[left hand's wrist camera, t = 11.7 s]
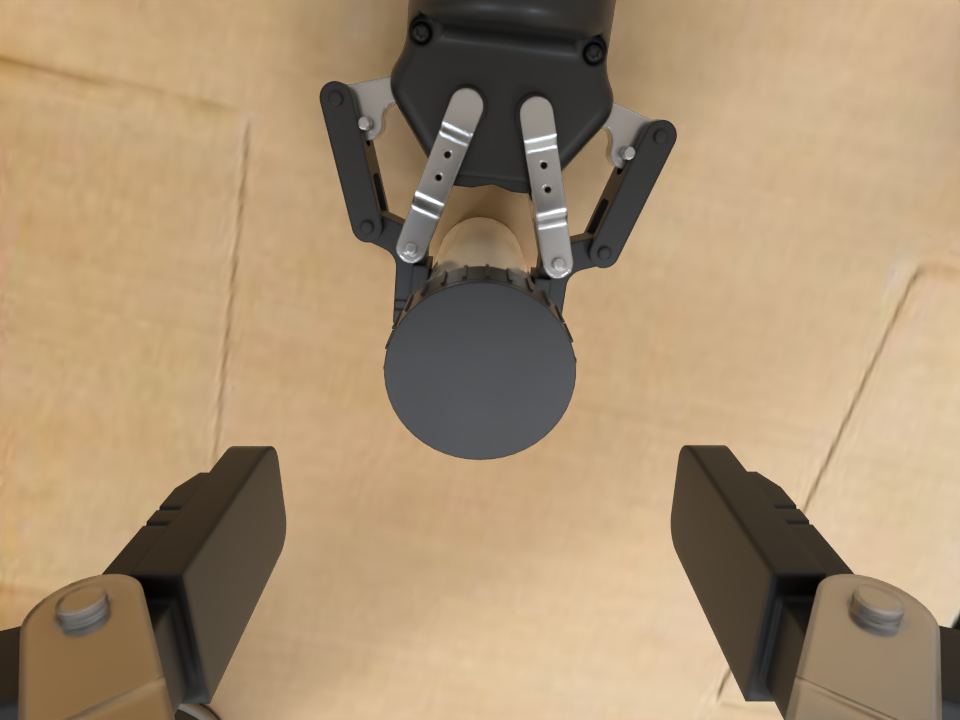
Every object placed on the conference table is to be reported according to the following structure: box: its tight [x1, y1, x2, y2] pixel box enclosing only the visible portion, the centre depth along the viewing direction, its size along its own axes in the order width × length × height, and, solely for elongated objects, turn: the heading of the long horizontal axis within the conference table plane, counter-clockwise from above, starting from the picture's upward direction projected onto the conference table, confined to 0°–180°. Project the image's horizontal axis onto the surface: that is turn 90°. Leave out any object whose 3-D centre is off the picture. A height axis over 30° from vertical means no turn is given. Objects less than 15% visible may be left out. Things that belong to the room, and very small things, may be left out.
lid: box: [384, 264, 576, 460], centre depth 18 cm, size 6×6×2 cm
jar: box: [428, 217, 533, 283], centre depth 25 cm, size 4×4×16 cm
